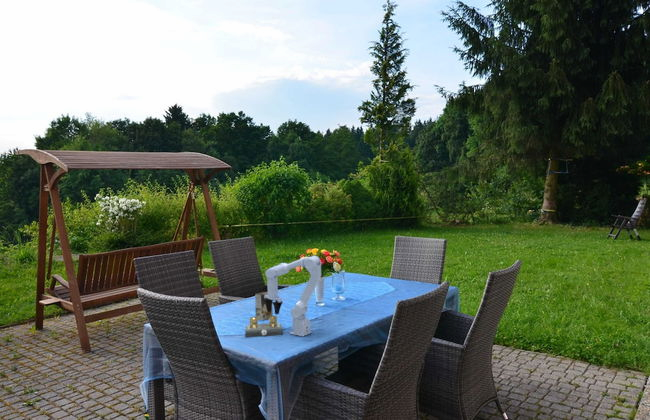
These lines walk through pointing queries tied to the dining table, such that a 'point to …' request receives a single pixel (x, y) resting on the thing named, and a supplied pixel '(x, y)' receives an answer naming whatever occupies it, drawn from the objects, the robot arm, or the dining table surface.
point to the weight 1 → (253, 322)
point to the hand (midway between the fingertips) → (273, 312)
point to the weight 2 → (272, 320)
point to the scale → (264, 330)
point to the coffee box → (262, 307)
